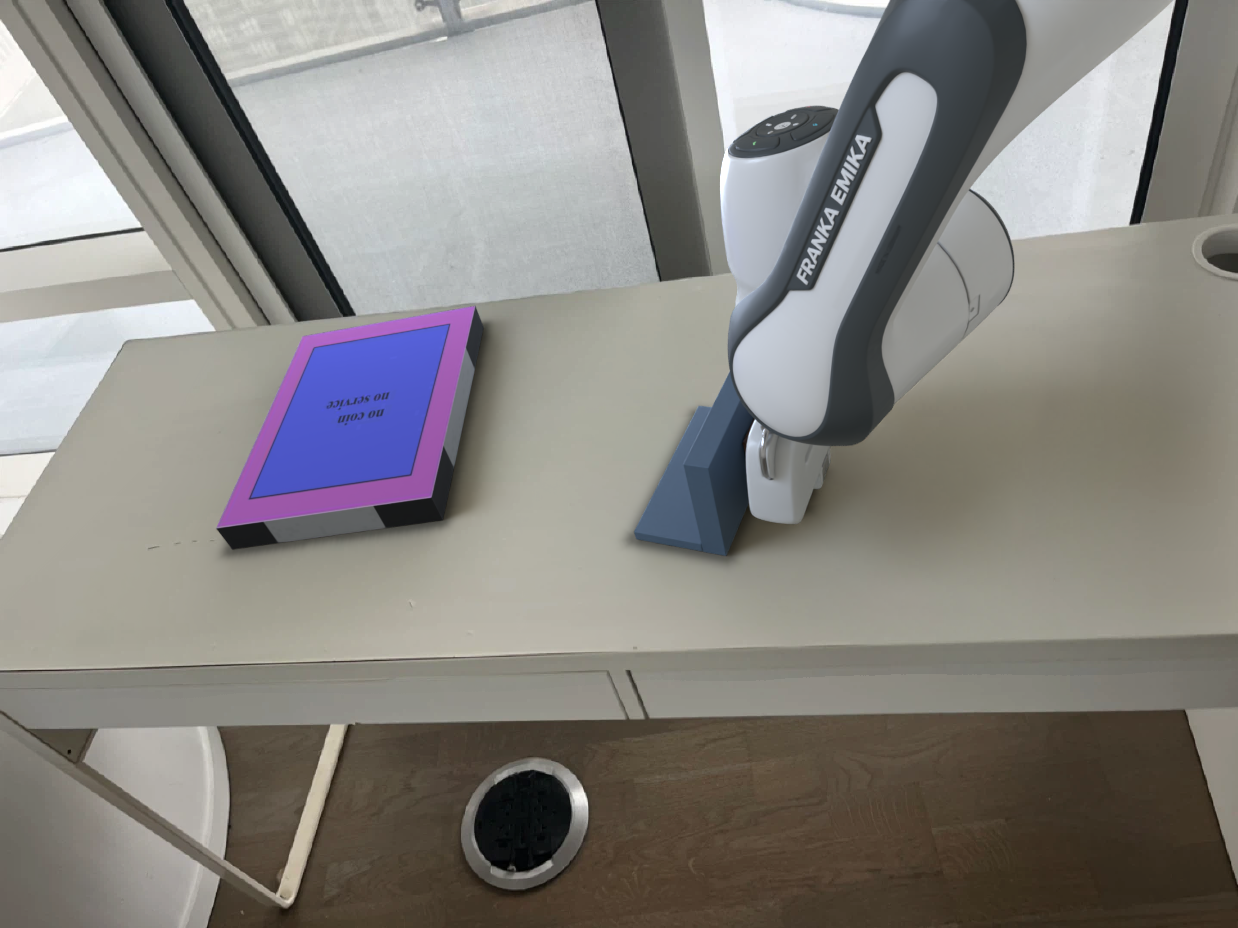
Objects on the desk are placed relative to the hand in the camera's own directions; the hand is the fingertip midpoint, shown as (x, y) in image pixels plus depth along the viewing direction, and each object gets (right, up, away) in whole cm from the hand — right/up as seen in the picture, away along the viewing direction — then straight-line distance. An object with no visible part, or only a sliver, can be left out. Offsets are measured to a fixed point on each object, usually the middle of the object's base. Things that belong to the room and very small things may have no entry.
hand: (815, 475), depth 74 cm
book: (-42, +5, +21) cm, 47 cm away
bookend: (-8, 0, +5) cm, 9 cm away
